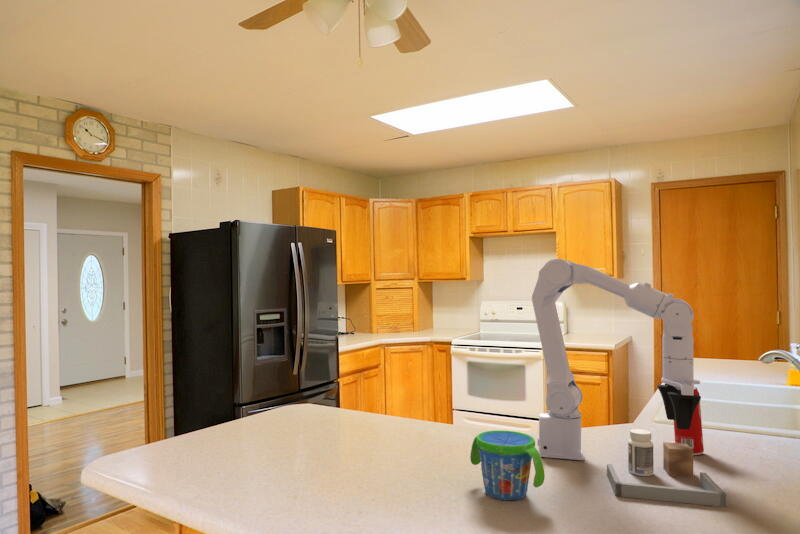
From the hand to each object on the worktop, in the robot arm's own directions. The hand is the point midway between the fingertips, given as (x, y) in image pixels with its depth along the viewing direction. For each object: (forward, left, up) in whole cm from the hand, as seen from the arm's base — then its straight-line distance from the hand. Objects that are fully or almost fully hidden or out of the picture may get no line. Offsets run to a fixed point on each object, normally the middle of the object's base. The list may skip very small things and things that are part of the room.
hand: (677, 424), depth 109 cm
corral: (-6, -11, -10) cm, 16 cm away
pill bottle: (-8, -2, -10) cm, 13 cm away
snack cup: (-34, -21, -10) cm, 41 cm away
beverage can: (+6, +16, -10) cm, 20 cm away
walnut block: (0, 0, -10) cm, 10 cm away
